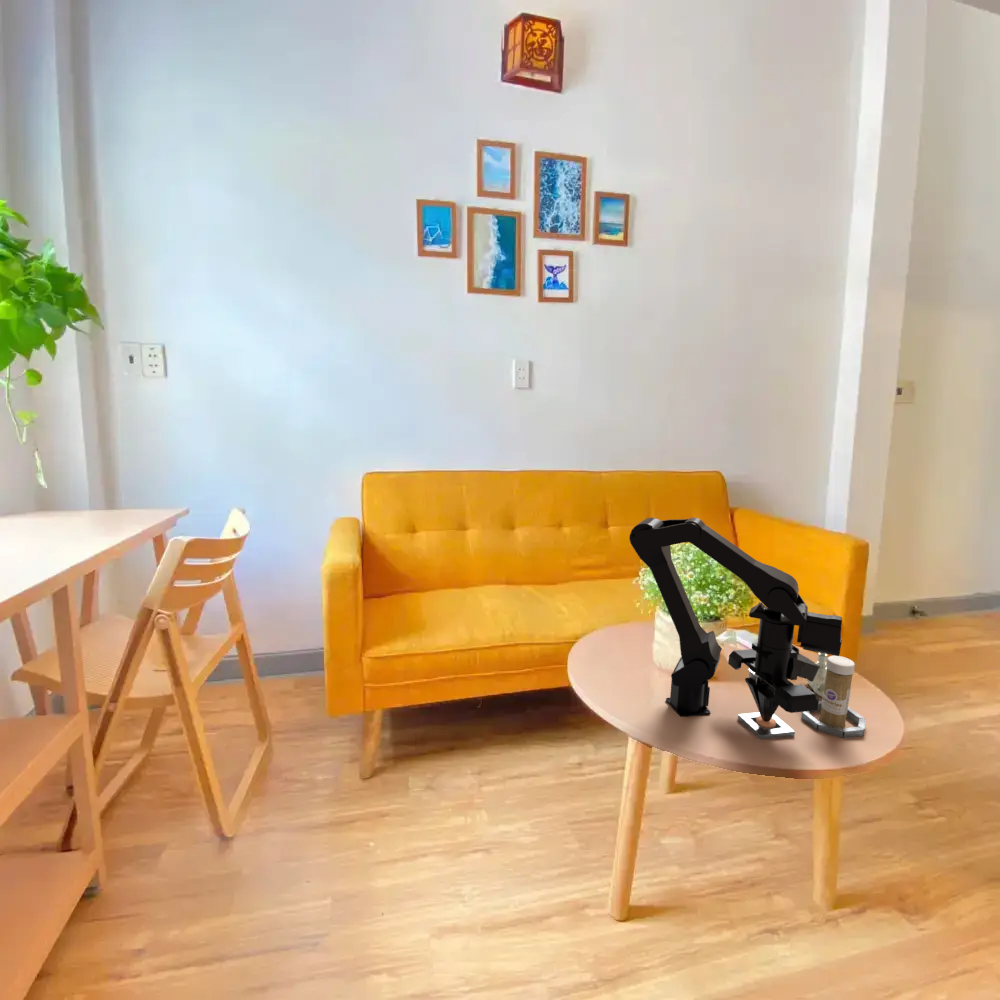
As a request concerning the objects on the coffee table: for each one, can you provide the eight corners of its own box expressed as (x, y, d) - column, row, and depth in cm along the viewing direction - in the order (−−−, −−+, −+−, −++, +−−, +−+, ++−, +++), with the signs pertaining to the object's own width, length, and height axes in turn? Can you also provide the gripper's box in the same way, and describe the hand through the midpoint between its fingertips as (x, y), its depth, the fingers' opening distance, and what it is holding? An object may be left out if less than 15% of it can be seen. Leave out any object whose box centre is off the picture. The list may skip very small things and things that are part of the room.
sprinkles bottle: (816, 725, 115) (824, 660, 112) (822, 715, 118) (830, 652, 116) (842, 734, 112) (852, 668, 109) (848, 724, 115) (857, 659, 113)
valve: (806, 696, 125) (812, 643, 123) (797, 681, 132) (803, 630, 129) (840, 700, 124) (847, 646, 122) (829, 684, 130) (836, 633, 128)
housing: (759, 745, 108) (760, 735, 108) (737, 723, 115) (738, 714, 115) (793, 741, 110) (795, 731, 109) (769, 720, 116) (770, 710, 116)
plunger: (762, 737, 110) (763, 726, 110) (751, 726, 114) (752, 716, 113) (778, 735, 111) (780, 724, 110) (767, 725, 114) (768, 714, 114)
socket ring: (828, 743, 109) (829, 733, 109) (790, 712, 119) (791, 703, 119) (877, 737, 111) (878, 727, 111) (836, 707, 121) (837, 698, 121)
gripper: (852, 662, 101) (840, 745, 104) (781, 619, 119) (772, 691, 122) (793, 668, 99) (783, 752, 102) (730, 623, 117) (723, 696, 120)
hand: (765, 720), depth 112 cm, fingers closed, pressing on plunger
